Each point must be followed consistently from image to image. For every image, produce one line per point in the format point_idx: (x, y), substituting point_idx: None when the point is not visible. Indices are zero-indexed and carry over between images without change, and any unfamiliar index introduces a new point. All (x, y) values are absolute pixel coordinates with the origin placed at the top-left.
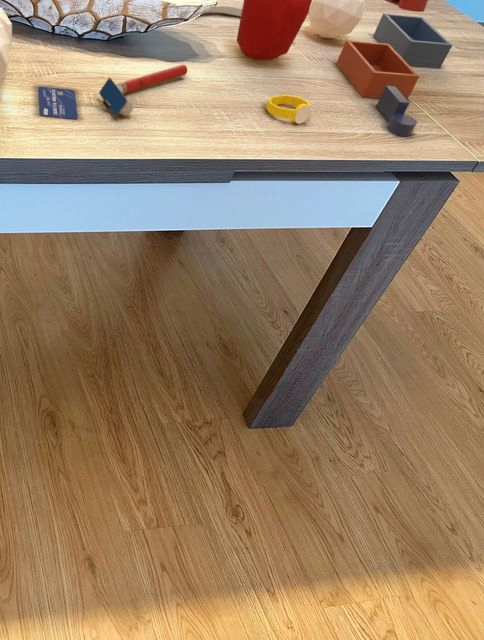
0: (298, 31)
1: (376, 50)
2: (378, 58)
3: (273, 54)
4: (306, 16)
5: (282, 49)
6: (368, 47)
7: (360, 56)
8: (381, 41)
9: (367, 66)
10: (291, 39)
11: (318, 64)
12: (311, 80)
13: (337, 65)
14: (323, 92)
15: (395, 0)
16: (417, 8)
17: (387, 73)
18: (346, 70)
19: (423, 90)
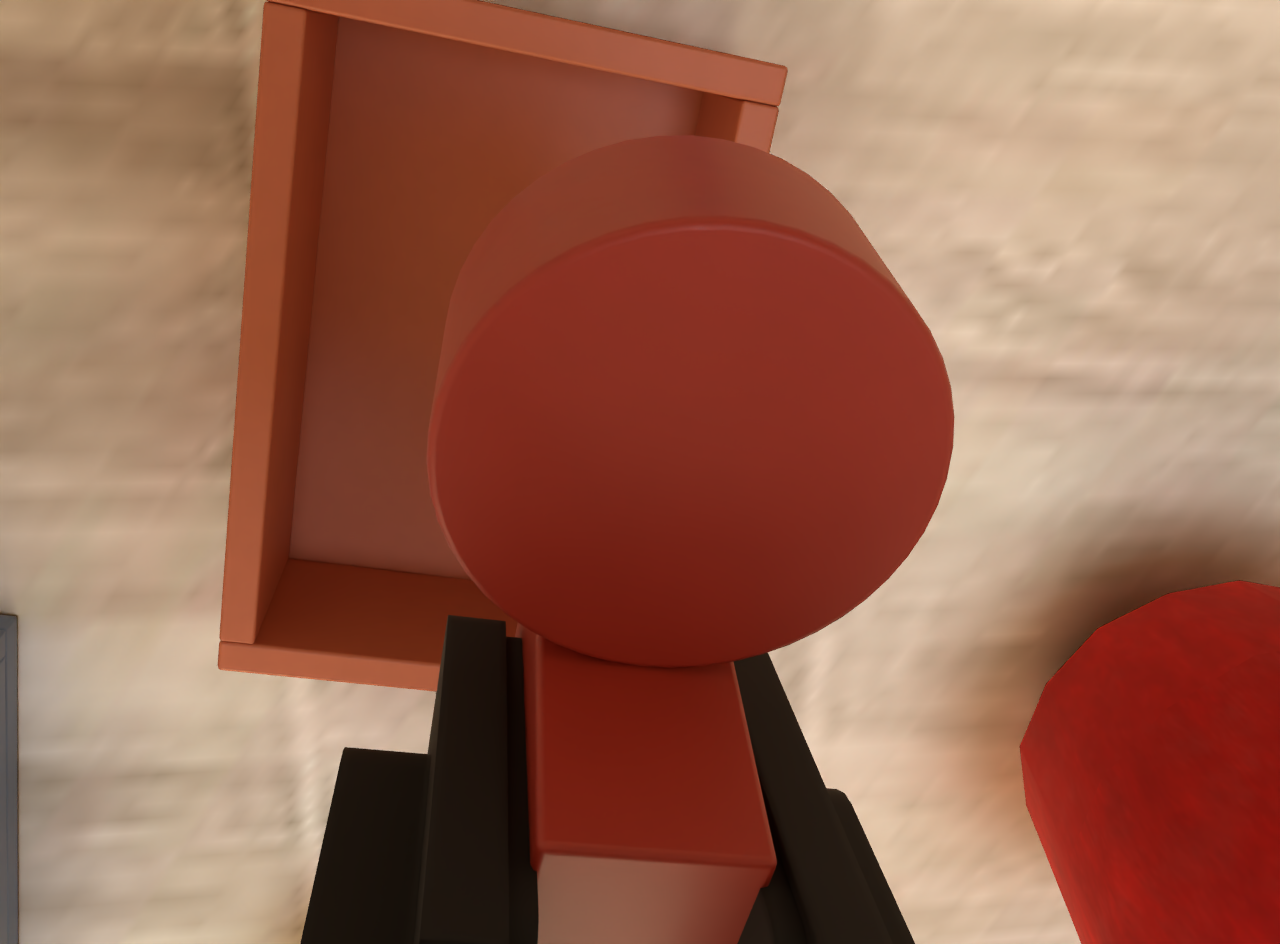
0: (1179, 713)
1: (343, 625)
2: (301, 584)
3: (1249, 584)
4: (1250, 791)
5: (1216, 604)
6: (430, 643)
7: None
8: (12, 936)
9: None
10: (1214, 651)
11: None
12: (996, 354)
13: None
14: (1028, 160)
15: (763, 657)
16: (749, 163)
17: (641, 40)
18: None
19: (8, 166)
